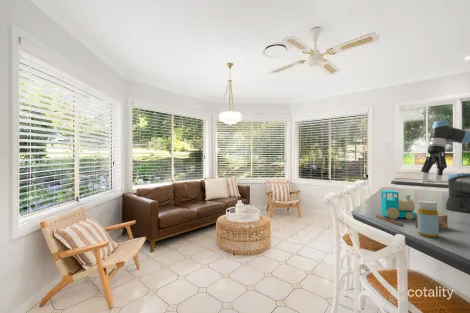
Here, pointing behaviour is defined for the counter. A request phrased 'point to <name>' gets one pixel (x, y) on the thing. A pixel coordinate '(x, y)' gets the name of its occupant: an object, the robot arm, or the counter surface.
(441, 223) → the buffer stop
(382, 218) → the rail far
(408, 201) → the toy train
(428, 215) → the bottle
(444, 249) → the counter surface
